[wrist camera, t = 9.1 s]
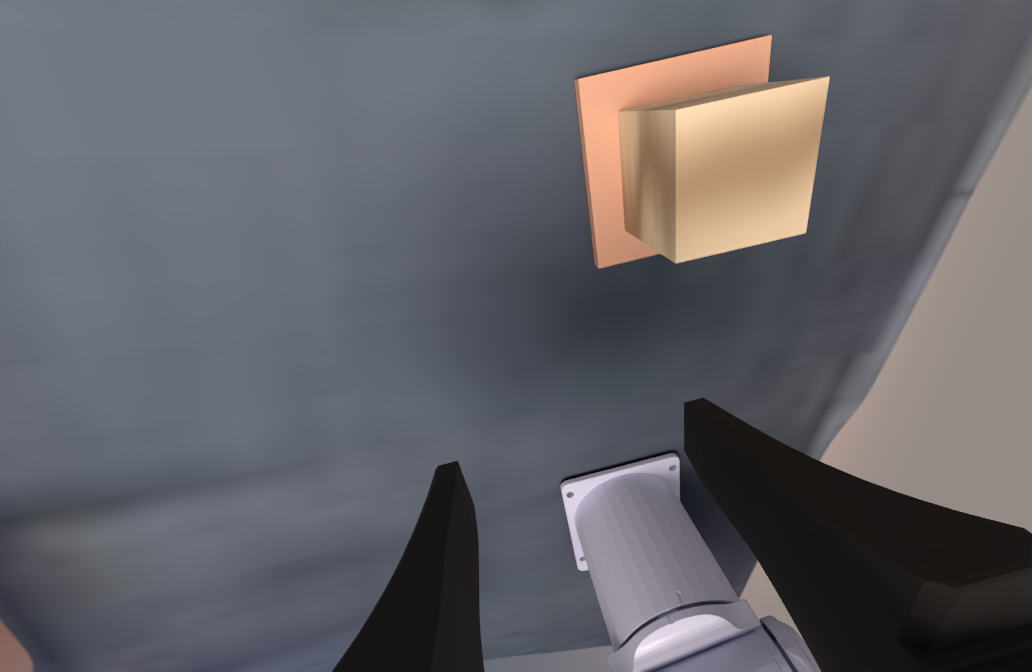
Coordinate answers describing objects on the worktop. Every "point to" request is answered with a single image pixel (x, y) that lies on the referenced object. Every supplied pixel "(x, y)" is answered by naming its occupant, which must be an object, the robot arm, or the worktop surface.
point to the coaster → (636, 89)
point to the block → (721, 167)
